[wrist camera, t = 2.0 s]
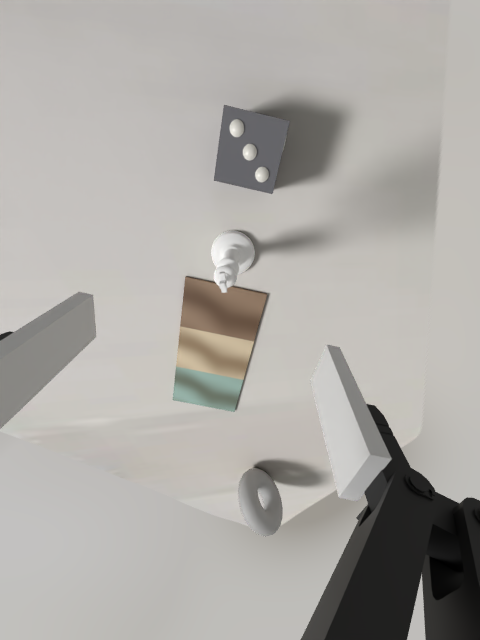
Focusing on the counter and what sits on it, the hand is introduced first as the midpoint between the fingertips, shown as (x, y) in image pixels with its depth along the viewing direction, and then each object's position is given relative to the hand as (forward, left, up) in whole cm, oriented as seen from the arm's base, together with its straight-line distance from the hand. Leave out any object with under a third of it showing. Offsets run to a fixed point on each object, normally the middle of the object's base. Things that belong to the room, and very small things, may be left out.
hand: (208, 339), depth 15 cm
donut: (+40, +13, -17) cm, 45 cm away
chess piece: (0, 0, -17) cm, 17 cm away
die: (-10, 0, -17) cm, 20 cm away
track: (+14, 0, -17) cm, 22 cm away
